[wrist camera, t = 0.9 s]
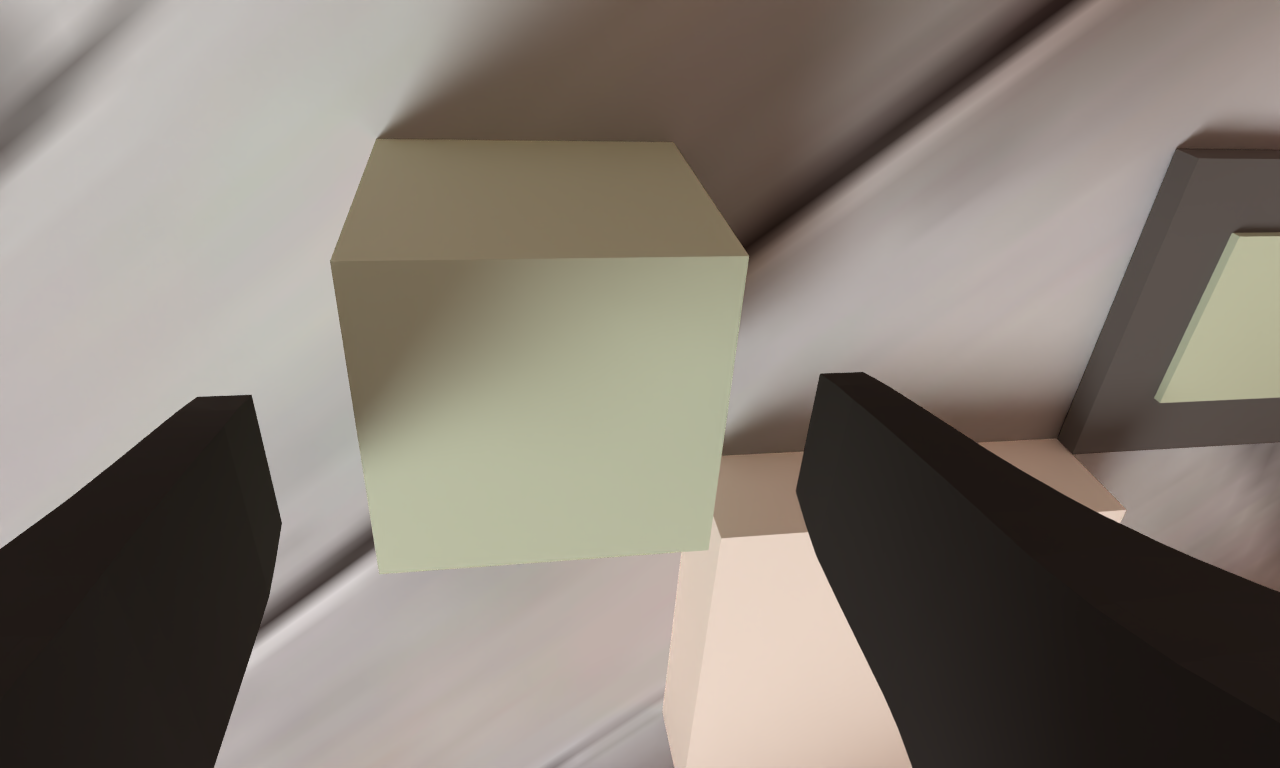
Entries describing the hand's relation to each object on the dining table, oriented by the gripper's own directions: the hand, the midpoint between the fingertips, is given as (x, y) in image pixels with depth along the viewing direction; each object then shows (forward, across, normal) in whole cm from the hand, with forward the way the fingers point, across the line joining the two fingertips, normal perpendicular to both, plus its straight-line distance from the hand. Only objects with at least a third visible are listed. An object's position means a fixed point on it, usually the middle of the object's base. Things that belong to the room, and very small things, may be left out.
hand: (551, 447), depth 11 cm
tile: (+5, -16, +1) cm, 17 cm away
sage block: (+6, 0, 0) cm, 6 cm away
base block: (+6, -8, +9) cm, 13 cm away
